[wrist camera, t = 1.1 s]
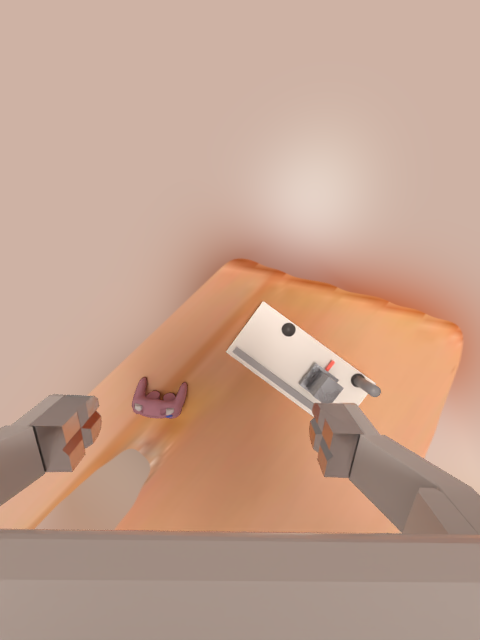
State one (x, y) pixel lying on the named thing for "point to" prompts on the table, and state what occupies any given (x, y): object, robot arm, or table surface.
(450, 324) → the table surface
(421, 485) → the robot arm
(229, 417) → the table surface
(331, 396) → the leg
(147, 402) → the video game controller
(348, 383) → the gauge board
